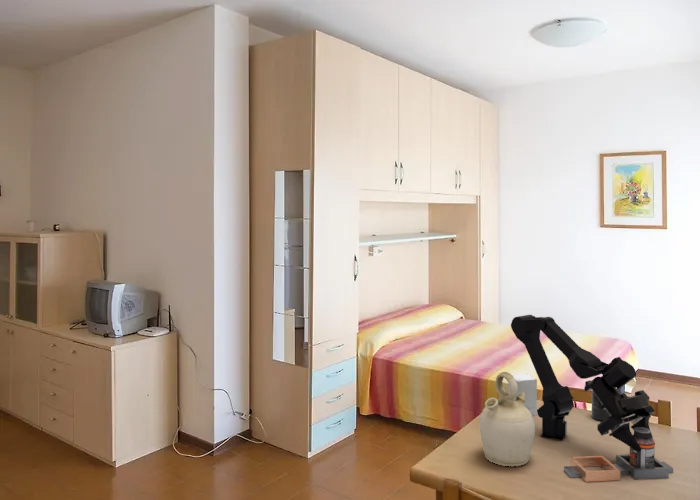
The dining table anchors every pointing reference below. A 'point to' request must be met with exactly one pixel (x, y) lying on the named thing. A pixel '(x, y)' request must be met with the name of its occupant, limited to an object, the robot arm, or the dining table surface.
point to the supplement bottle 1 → (598, 409)
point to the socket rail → (614, 469)
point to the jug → (507, 426)
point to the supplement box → (527, 391)
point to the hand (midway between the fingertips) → (646, 448)
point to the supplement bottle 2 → (643, 449)
